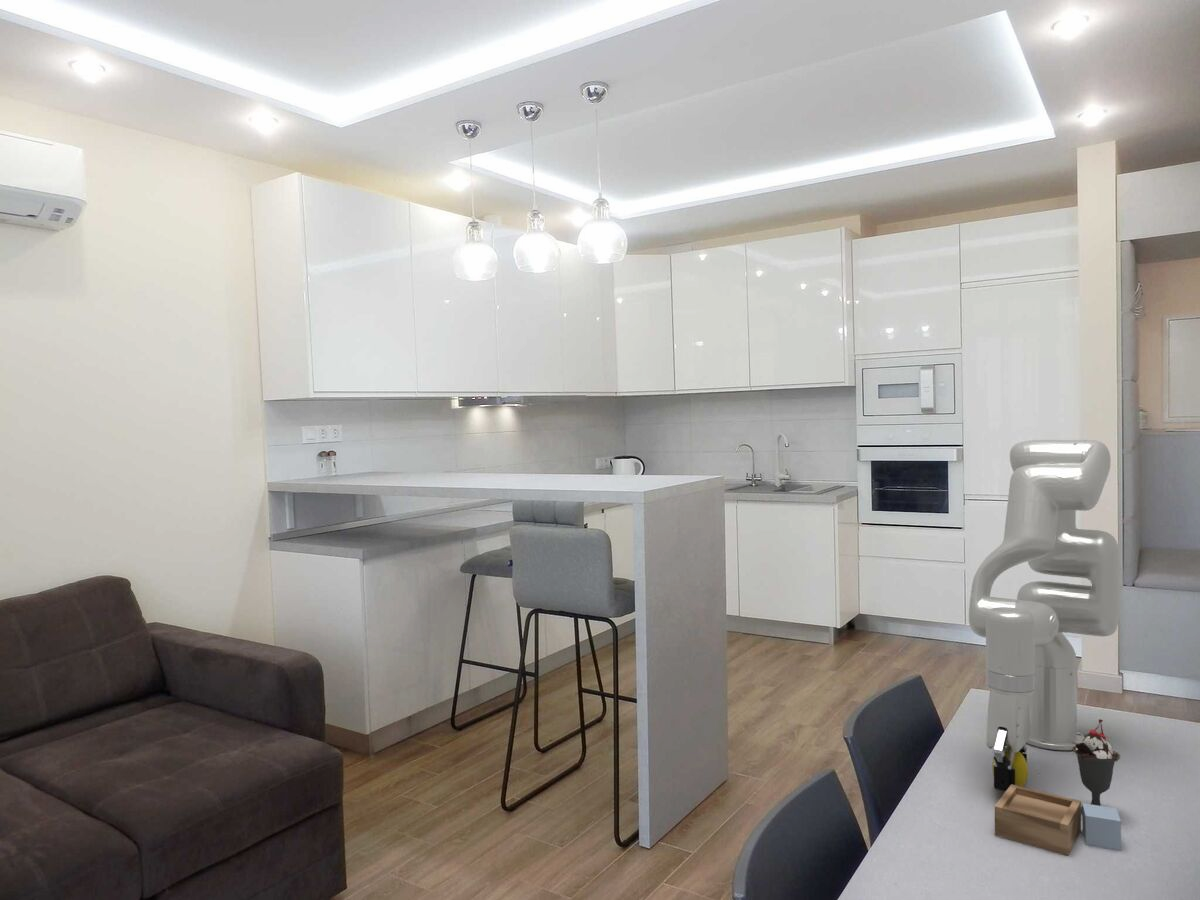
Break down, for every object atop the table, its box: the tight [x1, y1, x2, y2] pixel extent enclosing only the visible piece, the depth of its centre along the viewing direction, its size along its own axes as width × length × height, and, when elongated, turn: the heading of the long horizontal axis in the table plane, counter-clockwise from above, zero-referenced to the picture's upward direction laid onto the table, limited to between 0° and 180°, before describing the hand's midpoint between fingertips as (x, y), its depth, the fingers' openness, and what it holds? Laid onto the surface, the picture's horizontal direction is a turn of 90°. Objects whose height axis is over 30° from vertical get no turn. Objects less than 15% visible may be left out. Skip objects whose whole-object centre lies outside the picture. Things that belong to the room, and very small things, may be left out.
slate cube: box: [1081, 802, 1122, 852], centre depth 125 cm, size 4×4×4 cm
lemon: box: [991, 746, 1029, 787], centre depth 142 cm, size 6×6×8 cm
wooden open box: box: [994, 784, 1082, 857], centre depth 128 cm, size 10×10×4 cm
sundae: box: [1072, 718, 1121, 815], centre depth 133 cm, size 7×7×15 cm
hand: (1010, 781), depth 142 cm, fingers open, 7 cm apart
